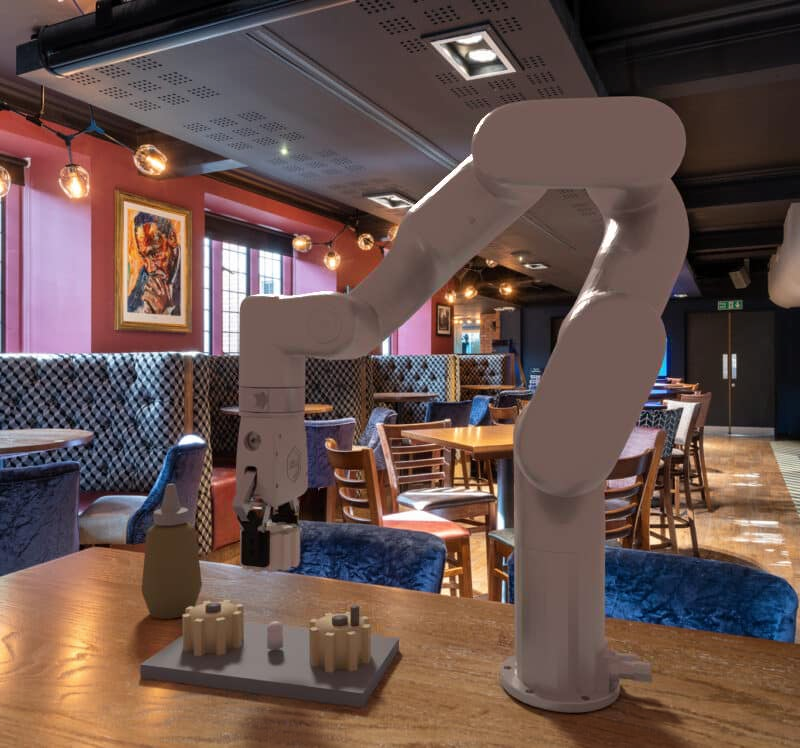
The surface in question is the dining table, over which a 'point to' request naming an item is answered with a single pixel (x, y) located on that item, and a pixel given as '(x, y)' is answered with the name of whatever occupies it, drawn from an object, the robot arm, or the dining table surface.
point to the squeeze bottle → (171, 560)
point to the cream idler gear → (280, 547)
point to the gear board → (276, 655)
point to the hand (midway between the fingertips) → (270, 554)
